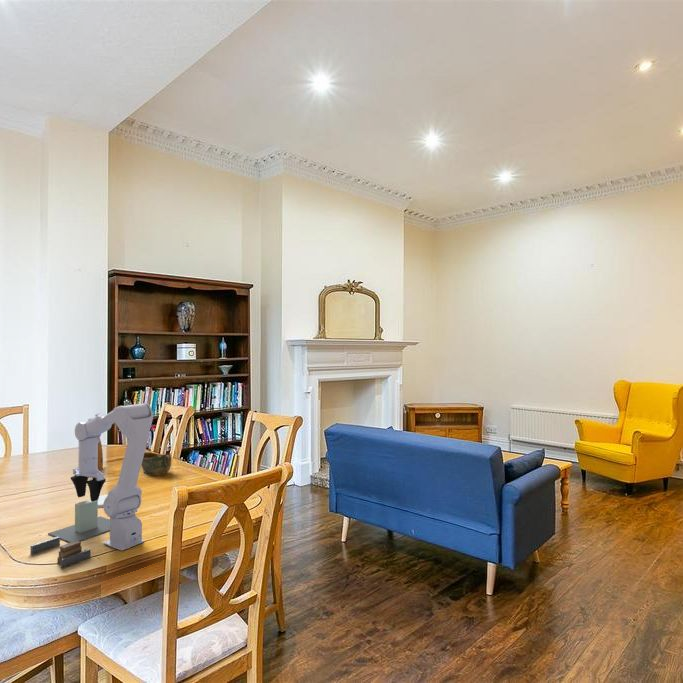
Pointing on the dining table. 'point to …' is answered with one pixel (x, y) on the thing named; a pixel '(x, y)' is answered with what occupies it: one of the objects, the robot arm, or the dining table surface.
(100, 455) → the coffee package
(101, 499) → the hard drive
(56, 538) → the offcut rack
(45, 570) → the dining table surface
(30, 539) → the dining table surface
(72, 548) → the offcut stack
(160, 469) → the dark green bowl
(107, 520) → the slate mat
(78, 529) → the tall pastel pillar
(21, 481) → the dining table surface
